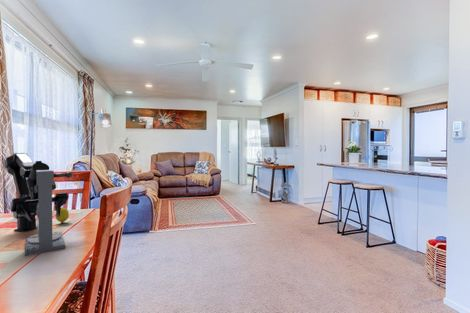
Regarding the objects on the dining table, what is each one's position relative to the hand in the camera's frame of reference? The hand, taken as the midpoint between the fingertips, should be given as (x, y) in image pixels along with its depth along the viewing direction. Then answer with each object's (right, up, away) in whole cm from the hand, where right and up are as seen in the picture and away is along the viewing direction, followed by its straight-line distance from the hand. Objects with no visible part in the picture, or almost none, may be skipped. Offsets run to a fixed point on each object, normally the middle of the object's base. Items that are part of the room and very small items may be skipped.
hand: (45, 218), depth 102 cm
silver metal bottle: (-1, -8, +1) cm, 8 cm away
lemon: (-12, -9, +28) cm, 32 cm away
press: (+2, -10, -1) cm, 10 cm away
